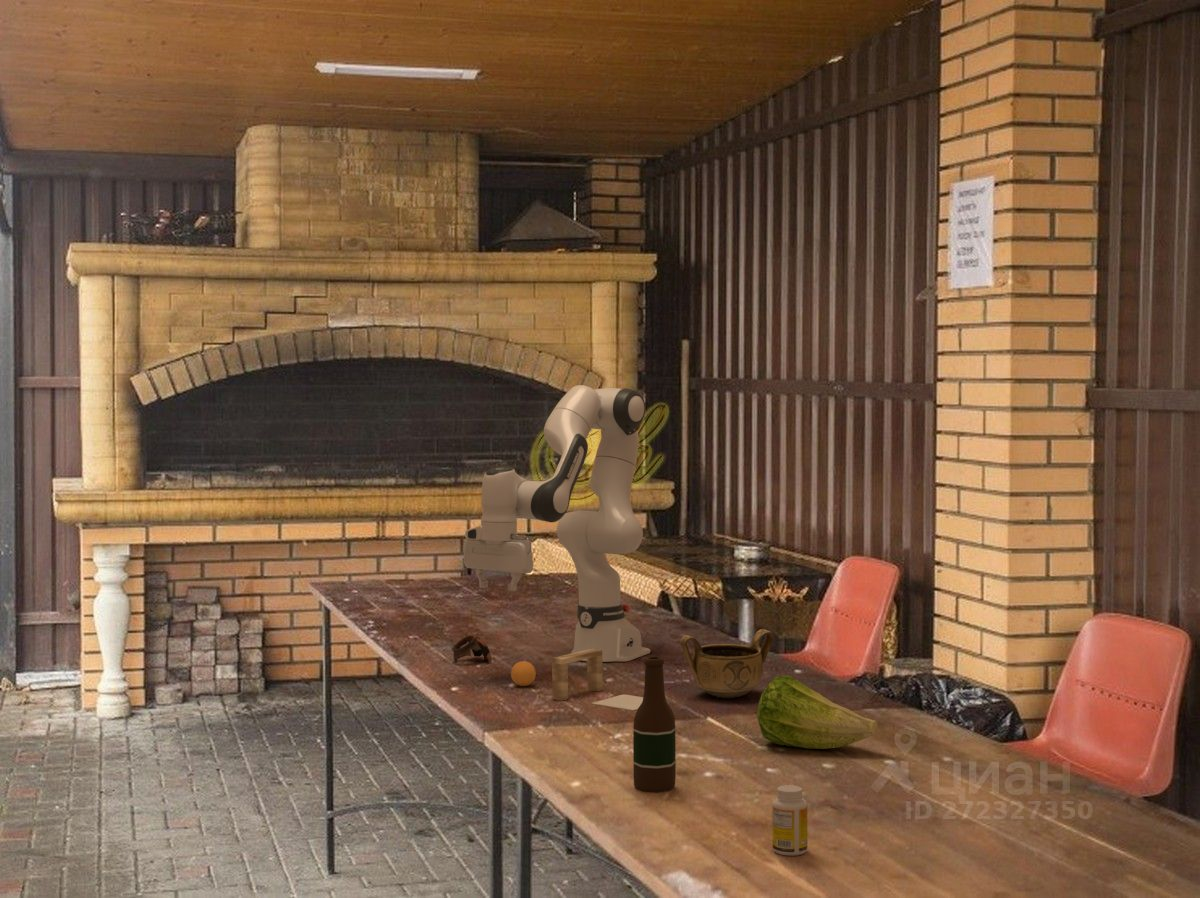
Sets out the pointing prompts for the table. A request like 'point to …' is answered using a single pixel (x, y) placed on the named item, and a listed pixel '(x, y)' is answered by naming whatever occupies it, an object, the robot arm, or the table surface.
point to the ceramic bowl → (728, 665)
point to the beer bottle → (654, 734)
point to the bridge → (562, 672)
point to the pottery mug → (471, 648)
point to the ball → (523, 673)
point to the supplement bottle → (789, 821)
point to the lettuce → (807, 717)
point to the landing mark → (622, 702)
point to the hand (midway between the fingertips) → (497, 589)
